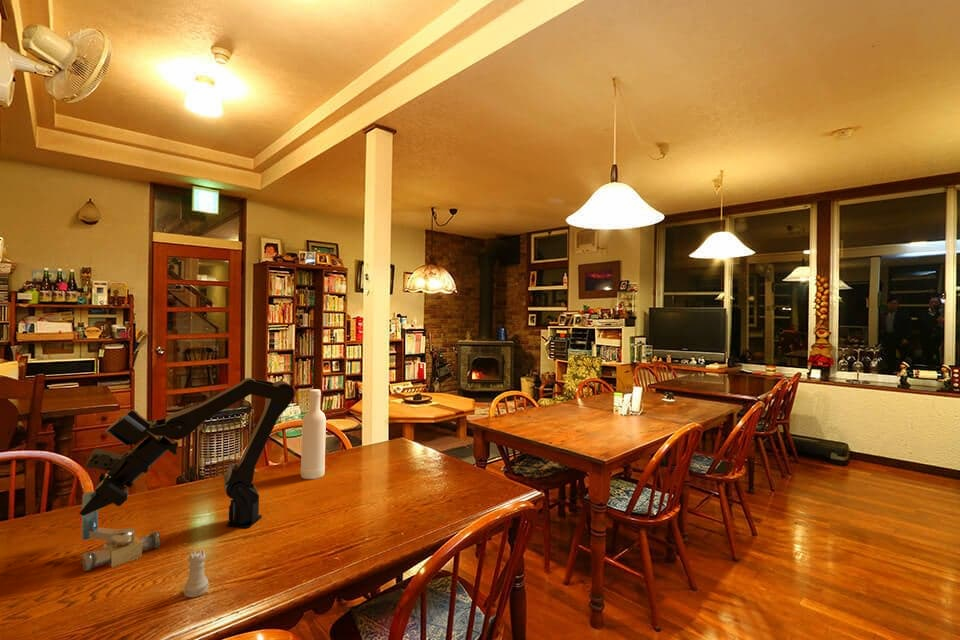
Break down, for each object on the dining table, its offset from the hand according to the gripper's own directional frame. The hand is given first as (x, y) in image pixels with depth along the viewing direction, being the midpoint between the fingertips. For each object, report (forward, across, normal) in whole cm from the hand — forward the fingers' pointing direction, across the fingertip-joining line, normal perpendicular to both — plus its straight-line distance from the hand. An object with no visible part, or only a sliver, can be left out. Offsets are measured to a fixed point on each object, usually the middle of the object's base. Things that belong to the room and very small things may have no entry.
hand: (82, 511), depth 105 cm
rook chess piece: (-8, +29, +22) cm, 37 cm away
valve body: (+2, +6, +13) cm, 14 cm away
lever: (+1, +3, +8) cm, 9 cm away
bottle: (-34, -26, +48) cm, 65 cm away
